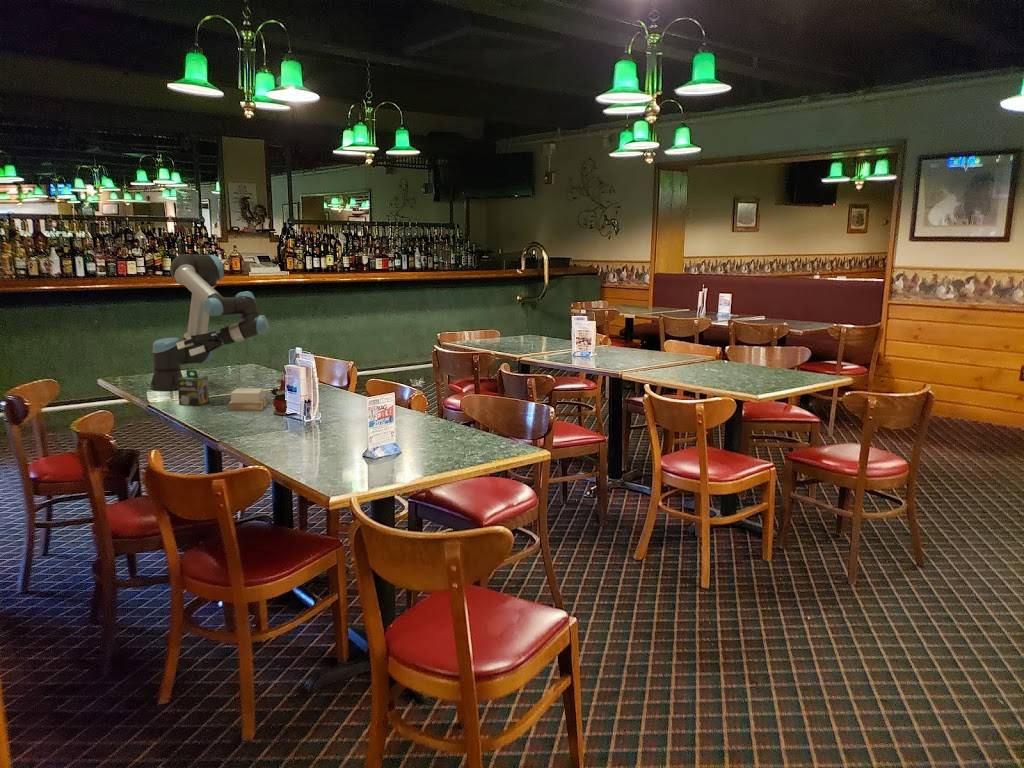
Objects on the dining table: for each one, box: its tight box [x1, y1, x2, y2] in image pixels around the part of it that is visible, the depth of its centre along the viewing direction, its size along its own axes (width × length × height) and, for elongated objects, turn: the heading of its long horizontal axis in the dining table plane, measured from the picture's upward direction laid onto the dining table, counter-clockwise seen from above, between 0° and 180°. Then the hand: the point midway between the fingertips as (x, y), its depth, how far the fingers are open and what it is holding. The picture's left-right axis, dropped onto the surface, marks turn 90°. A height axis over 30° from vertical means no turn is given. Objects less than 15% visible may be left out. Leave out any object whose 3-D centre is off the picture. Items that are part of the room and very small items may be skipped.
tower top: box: [230, 387, 264, 403], centre depth 313 cm, size 11×11×4 cm
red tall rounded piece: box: [270, 369, 287, 416], centre depth 304 cm, size 11×9×18 cm
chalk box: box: [177, 369, 210, 407], centre depth 317 cm, size 9×9×15 cm
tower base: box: [227, 396, 268, 412], centre depth 313 cm, size 13×13×4 cm
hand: (183, 349), depth 317 cm, fingers open, 13 cm apart
